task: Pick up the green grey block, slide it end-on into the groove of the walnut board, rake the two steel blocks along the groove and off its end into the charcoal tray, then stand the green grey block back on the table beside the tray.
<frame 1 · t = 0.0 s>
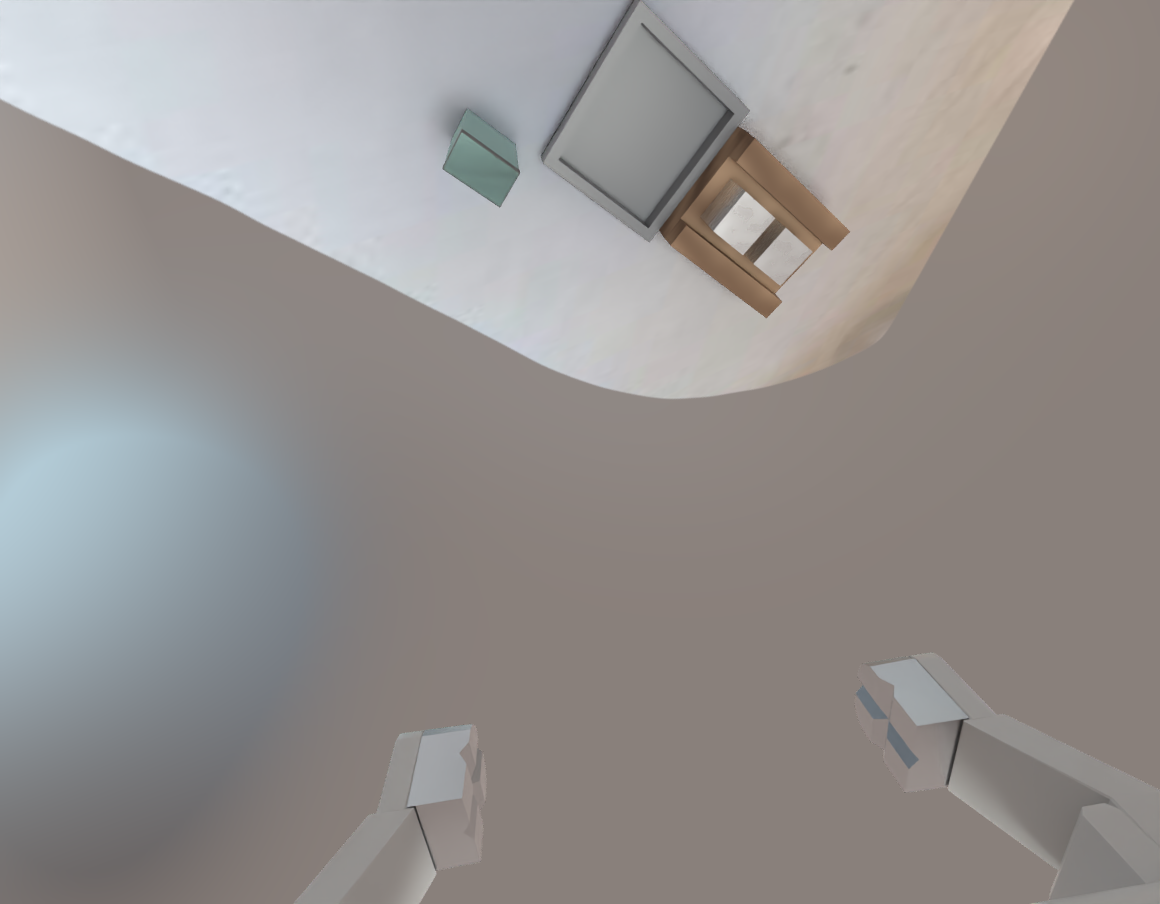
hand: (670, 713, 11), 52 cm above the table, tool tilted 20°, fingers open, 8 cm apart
steel block b: (767, 242, 54), point 5 cm above the table, touching groove board
green grey block: (483, 142, 49), on the table
tray: (640, 131, 50), on the table
steel block a: (729, 210, 51), point 5 cm above the table, touching groove board
groove board: (736, 214, 56), on the table
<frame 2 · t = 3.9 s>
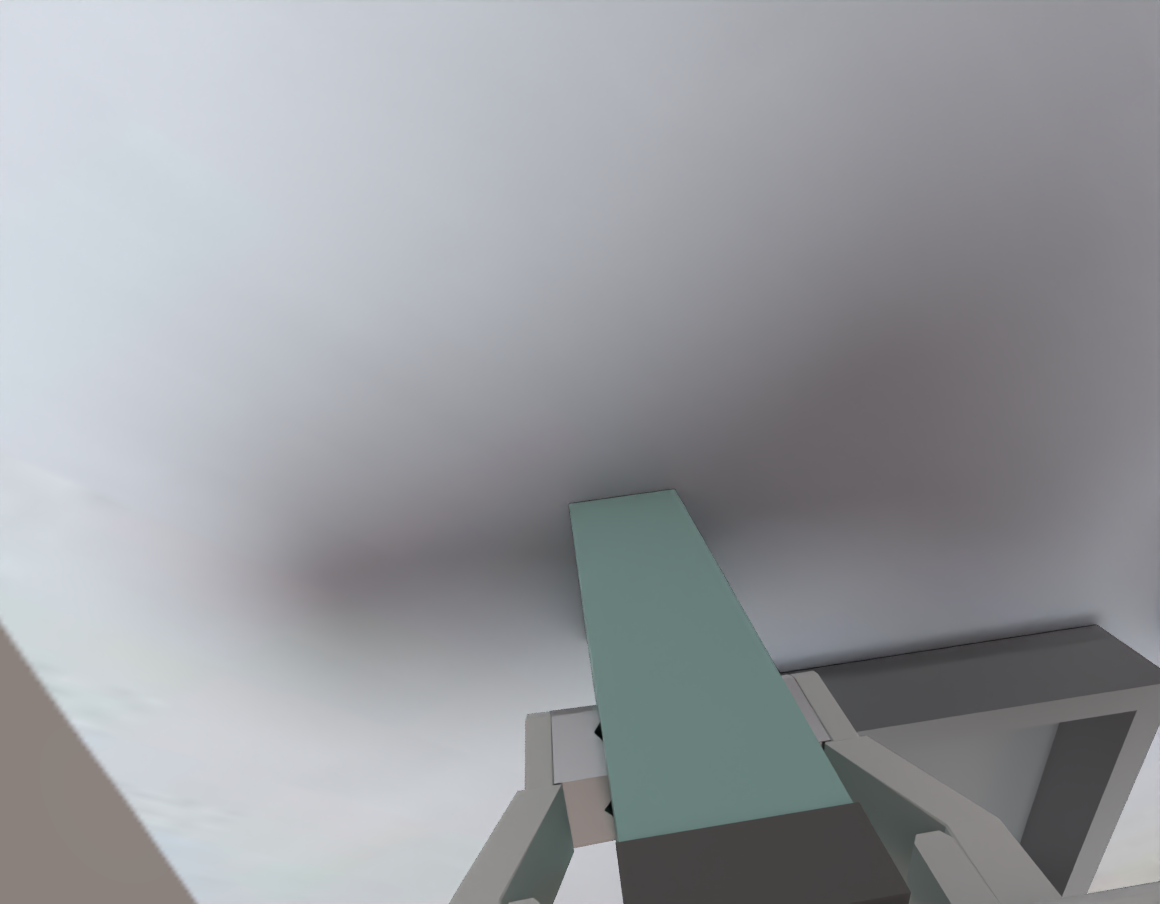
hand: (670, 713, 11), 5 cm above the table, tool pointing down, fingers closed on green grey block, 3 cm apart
green grey block: (628, 570, 16), on the table, touching gripper
tray: (880, 784, 21), on the table
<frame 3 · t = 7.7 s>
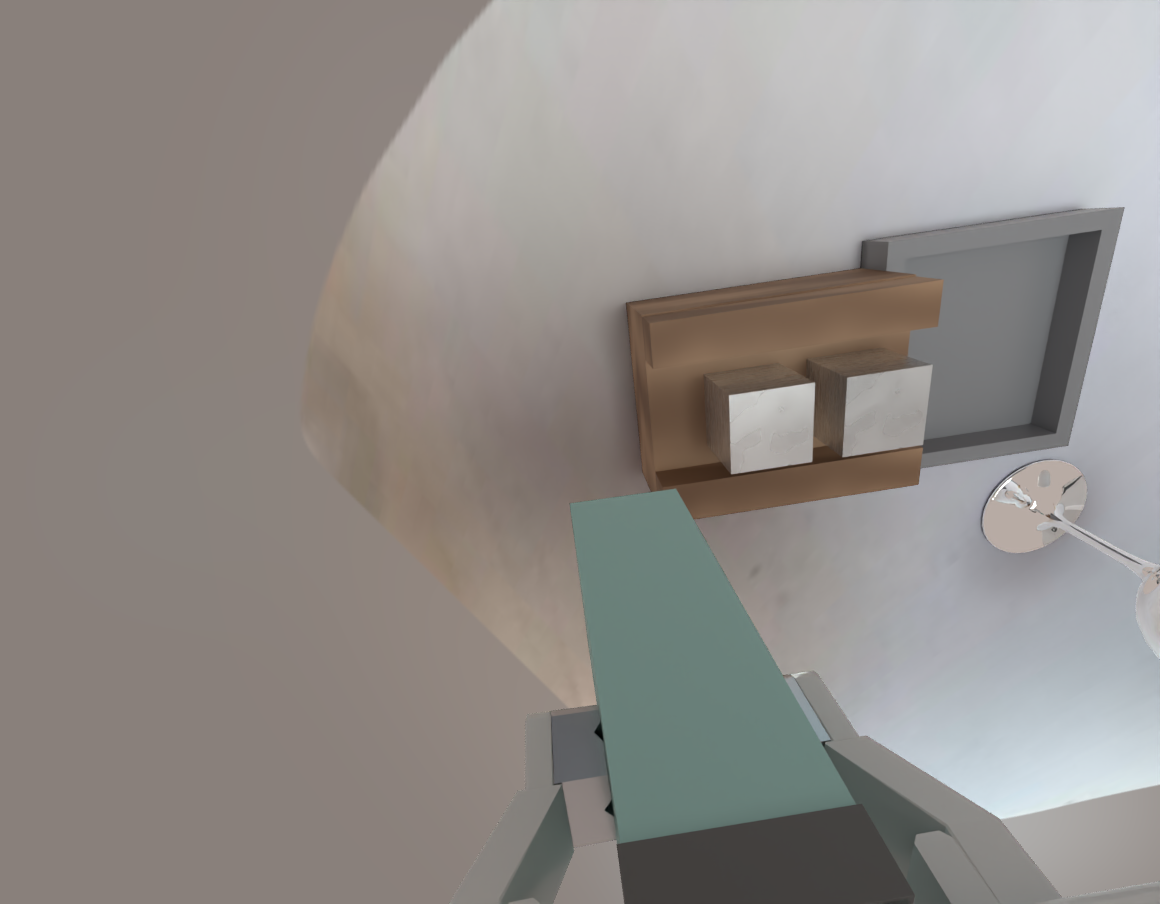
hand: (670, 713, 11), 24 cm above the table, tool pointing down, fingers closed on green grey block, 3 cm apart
steel block b: (741, 404, 29), point 5 cm above the table, touching groove board
green grey block: (629, 570, 16), point 19 cm above the table, touching gripper
tray: (955, 344, 34), on the table
steel block a: (841, 389, 29), point 5 cm above the table, touching groove board
groove board: (745, 376, 34), on the table
wineglass: (1029, 505, 39), on the table
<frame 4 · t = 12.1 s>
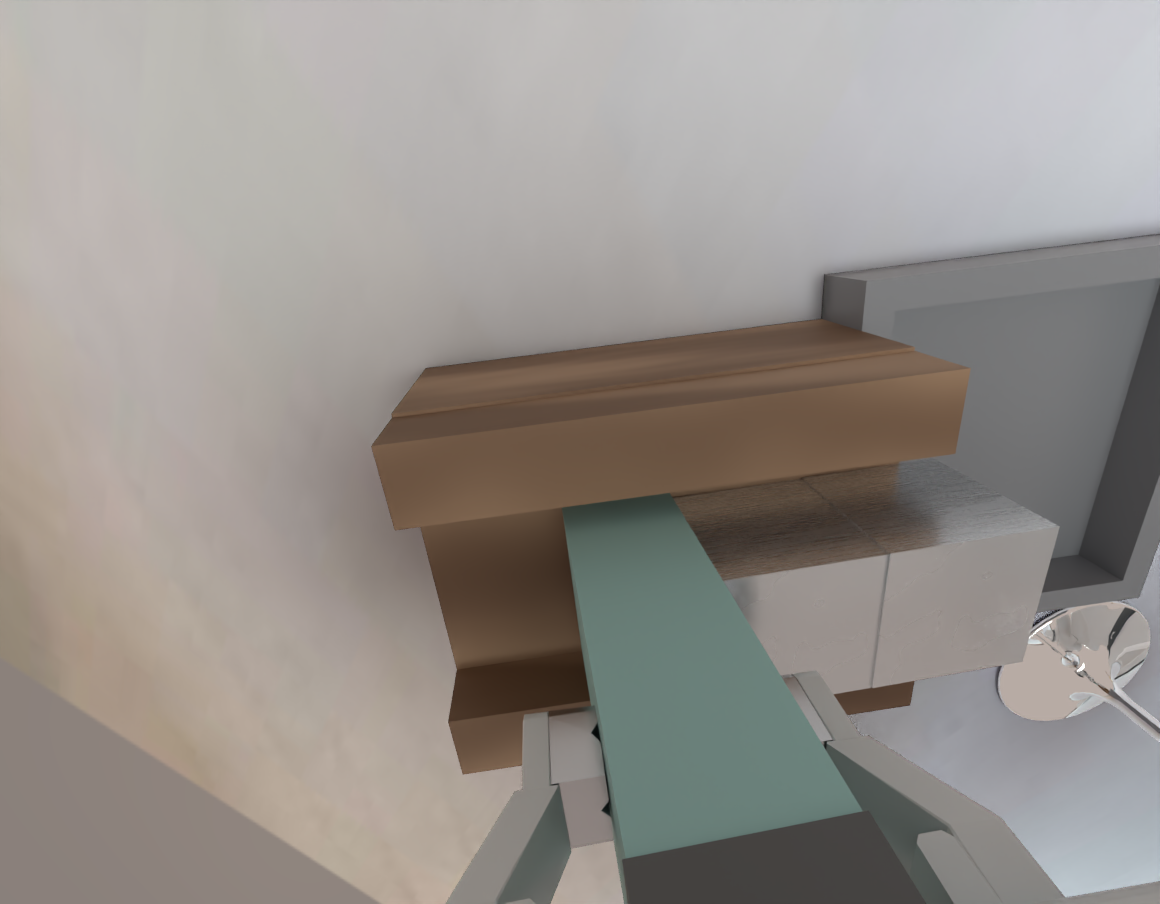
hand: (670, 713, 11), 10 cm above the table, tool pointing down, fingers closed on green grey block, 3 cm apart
steel block b: (734, 546, 16), point 5 cm above the table, touching groove board, green grey block, steel block a
green grey block: (622, 574, 16), point 5 cm above the table, touching gripper, steel block b
tray: (970, 438, 21), on the table
steel block a: (861, 526, 16), point 5 cm above the table, touching groove board, steel block b
groove board: (636, 483, 21), on the table
wineglass: (1065, 657, 27), on the table
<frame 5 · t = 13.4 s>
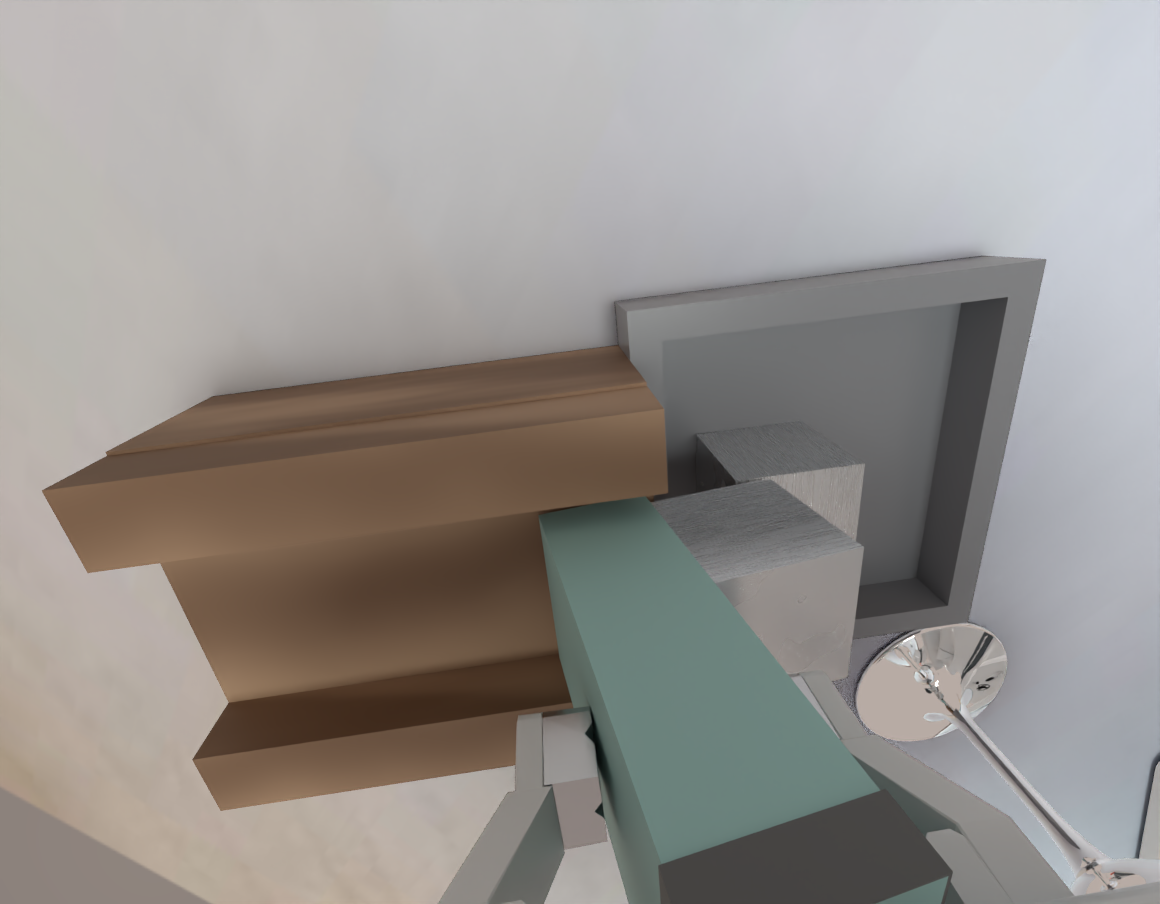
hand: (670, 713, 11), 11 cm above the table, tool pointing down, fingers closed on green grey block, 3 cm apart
steel block b: (707, 548, 16), point 5 cm above the table, tilted 9°, touching green grey block, steel block a
green grey block: (599, 579, 16), point 6 cm above the table, tilted 9°, touching gripper, steel block b
tray: (791, 462, 21), on the table
steel block a: (713, 508, 19), point 3 cm above the table, tilted 91°, touching steel block b, tray
groove board: (450, 509, 21), on the table
wineglass: (925, 678, 27), on the table
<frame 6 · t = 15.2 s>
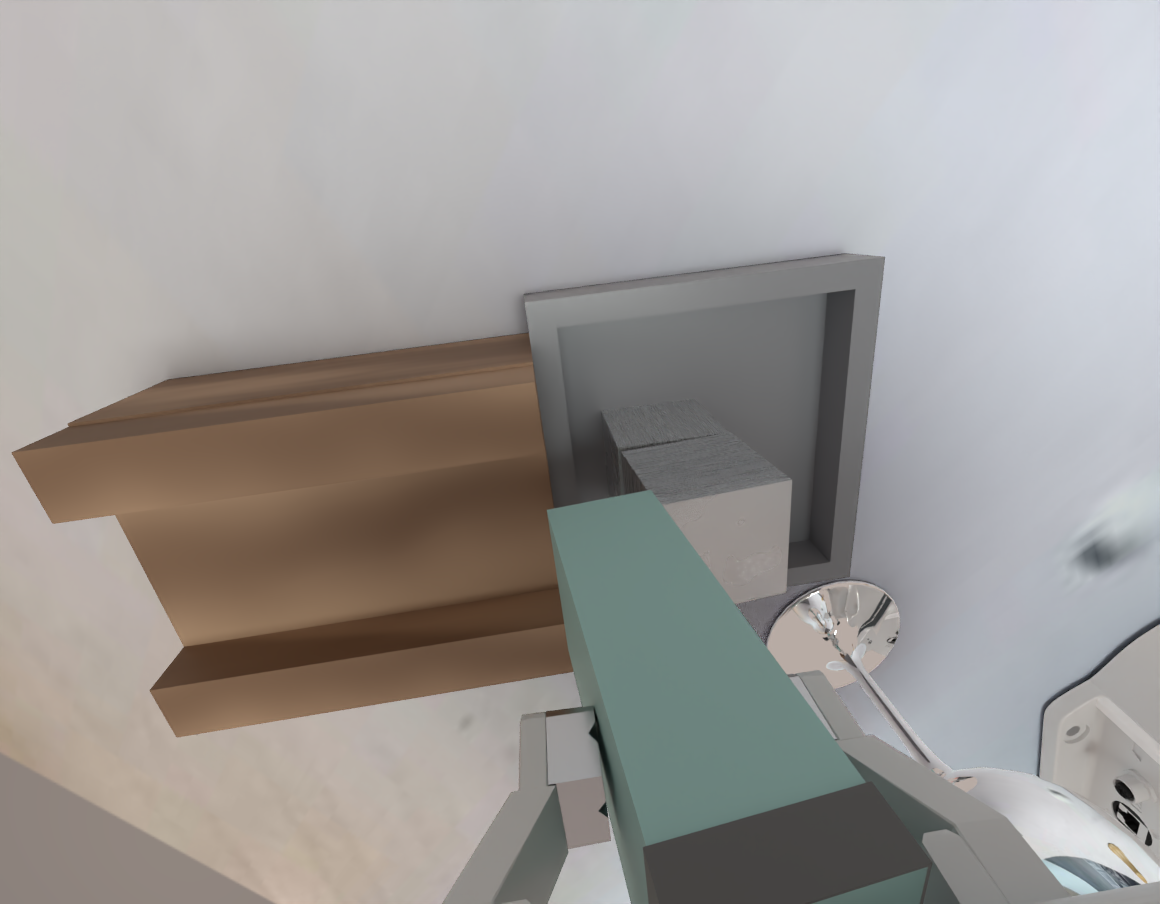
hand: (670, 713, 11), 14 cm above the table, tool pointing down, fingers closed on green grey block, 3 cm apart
steel block b: (678, 492, 19), point 5 cm above the table, touching steel block a
green grey block: (607, 573, 16), point 9 cm above the table, tilted 5°, touching gripper
tray: (692, 437, 24), on the table
steel block a: (612, 474, 21), point 3 cm above the table, tilted 90°, touching steel block b, tray
groove board: (386, 480, 23), on the table
wineglass: (829, 633, 30), on the table
when the fingers open (7 cm above the table, at t = 20.3 s): green grey block drops 1 cm, on the table.
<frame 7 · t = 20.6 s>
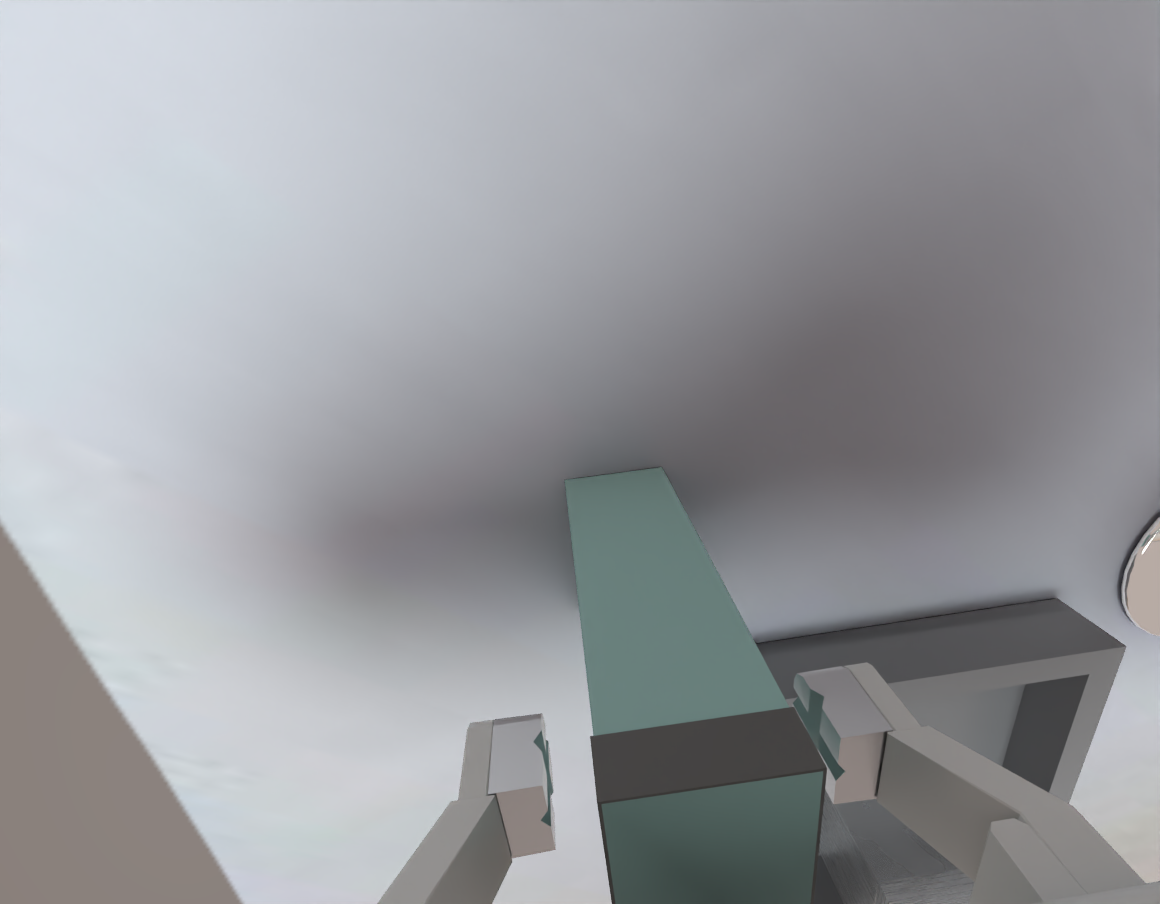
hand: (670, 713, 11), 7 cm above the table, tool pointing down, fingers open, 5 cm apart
green grey block: (620, 543, 17), on the table
tray: (857, 750, 22), on the table
steel block a: (884, 880, 21), point 3 cm above the table, tilted 90°, touching steel block b, tray
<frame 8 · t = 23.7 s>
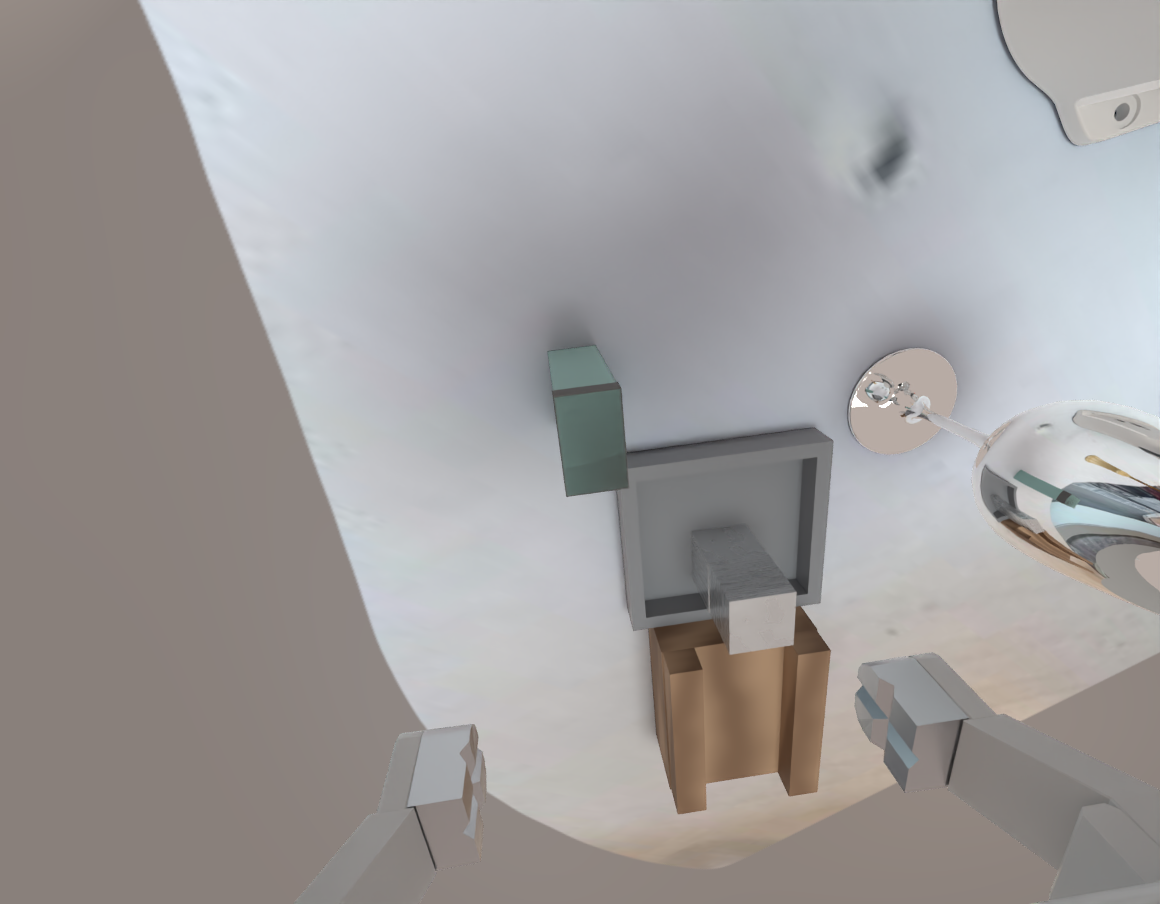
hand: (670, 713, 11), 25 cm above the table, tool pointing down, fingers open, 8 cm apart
steel block b: (738, 583, 36), point 5 cm above the table, touching steel block a
green grey block: (575, 386, 34), on the table
tray: (715, 523, 39), on the table
steel block a: (727, 590, 38), point 3 cm above the table, tilted 90°, touching steel block b, tray
groove board: (717, 664, 44), on the table
wineglass: (898, 401, 37), on the table
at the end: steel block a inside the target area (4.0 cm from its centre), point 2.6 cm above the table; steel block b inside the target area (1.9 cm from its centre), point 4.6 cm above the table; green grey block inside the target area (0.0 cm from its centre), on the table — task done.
